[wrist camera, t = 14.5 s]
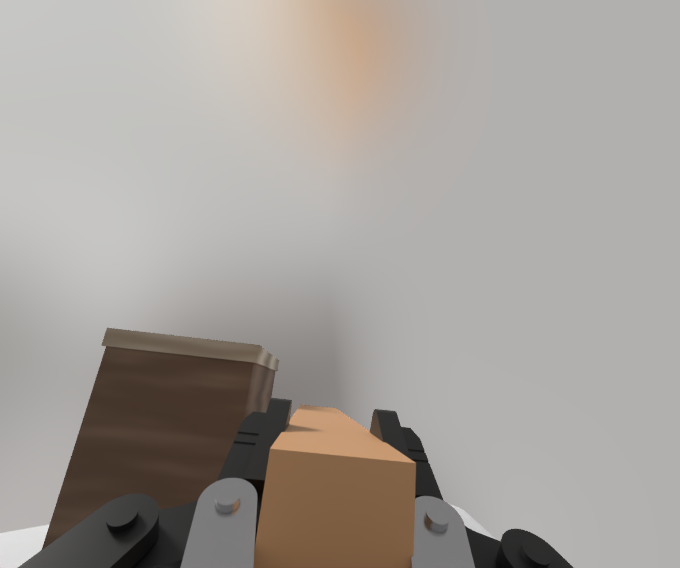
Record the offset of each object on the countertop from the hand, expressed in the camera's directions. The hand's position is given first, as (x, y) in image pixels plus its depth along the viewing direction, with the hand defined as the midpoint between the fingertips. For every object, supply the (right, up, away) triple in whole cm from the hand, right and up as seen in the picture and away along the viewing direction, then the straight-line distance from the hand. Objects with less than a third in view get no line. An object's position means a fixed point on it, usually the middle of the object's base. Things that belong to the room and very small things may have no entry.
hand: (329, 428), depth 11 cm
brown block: (-1, -5, +5) cm, 7 cm away
